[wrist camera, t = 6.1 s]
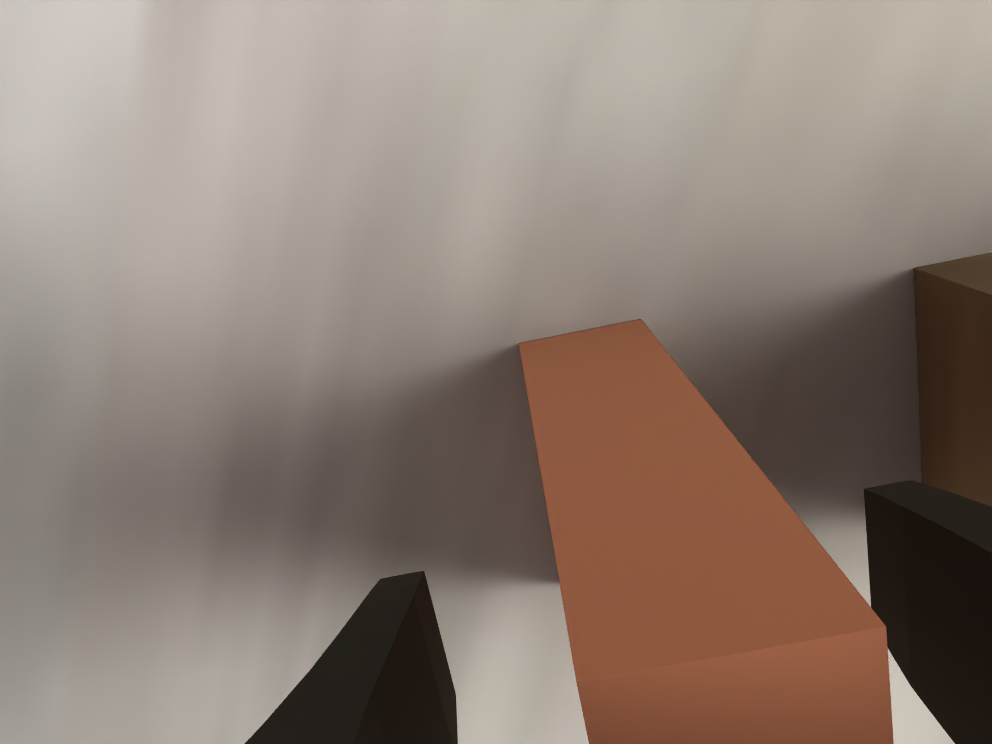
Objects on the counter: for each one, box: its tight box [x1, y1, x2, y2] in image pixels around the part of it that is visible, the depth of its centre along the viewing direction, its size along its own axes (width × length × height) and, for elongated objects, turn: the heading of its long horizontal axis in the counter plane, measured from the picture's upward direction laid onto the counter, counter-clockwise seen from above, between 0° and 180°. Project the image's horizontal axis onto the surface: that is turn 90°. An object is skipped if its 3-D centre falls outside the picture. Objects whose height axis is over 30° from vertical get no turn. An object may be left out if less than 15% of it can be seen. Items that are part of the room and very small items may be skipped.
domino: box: [519, 319, 893, 744], centre depth 11 cm, size 2×5×9 cm, turn 11°
